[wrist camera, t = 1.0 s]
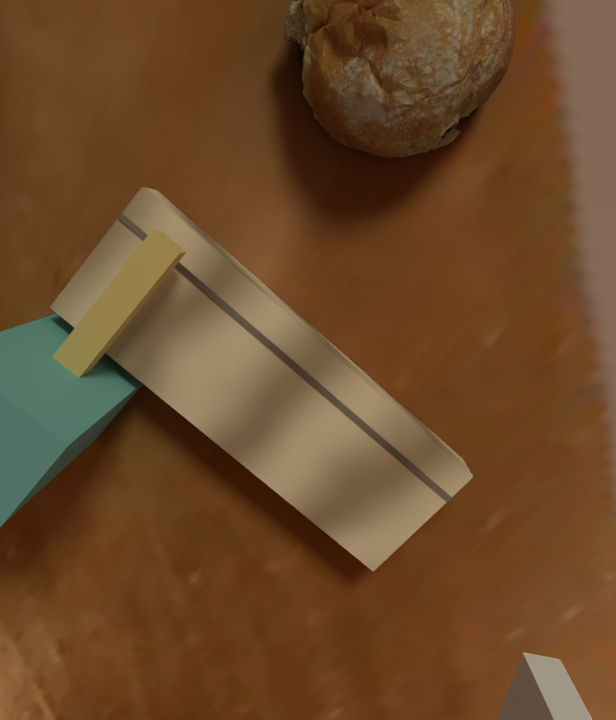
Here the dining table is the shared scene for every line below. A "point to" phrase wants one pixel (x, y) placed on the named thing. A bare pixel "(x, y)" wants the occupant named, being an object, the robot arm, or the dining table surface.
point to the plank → (270, 388)
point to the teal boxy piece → (69, 377)
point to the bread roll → (399, 67)
